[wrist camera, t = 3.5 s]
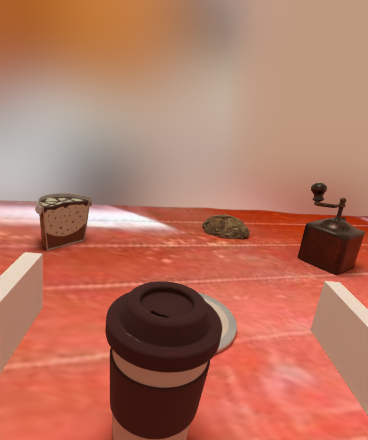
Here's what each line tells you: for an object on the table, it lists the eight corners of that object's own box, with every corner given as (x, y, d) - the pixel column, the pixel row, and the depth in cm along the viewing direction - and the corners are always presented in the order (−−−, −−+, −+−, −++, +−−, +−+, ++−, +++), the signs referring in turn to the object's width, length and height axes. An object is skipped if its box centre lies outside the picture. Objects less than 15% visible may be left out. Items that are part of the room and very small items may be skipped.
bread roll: (235, 225, 102) (238, 209, 100) (254, 240, 91) (257, 223, 89) (196, 223, 98) (198, 207, 97) (210, 239, 87) (213, 222, 85)
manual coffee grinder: (356, 266, 82) (379, 196, 77) (336, 276, 75) (360, 199, 69) (301, 243, 93) (317, 180, 87) (278, 250, 86) (295, 181, 80)
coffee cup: (166, 380, 39) (182, 266, 35) (220, 452, 32) (250, 318, 27) (83, 414, 33) (89, 283, 29) (125, 512, 26) (143, 355, 21)
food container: (73, 231, 79) (74, 190, 76) (90, 239, 76) (92, 197, 73) (23, 242, 69) (22, 196, 66) (40, 252, 66) (40, 204, 63)
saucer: (124, 351, 43) (124, 346, 42) (137, 288, 58) (137, 284, 58) (245, 362, 44) (246, 357, 44) (226, 298, 59) (227, 293, 59)
